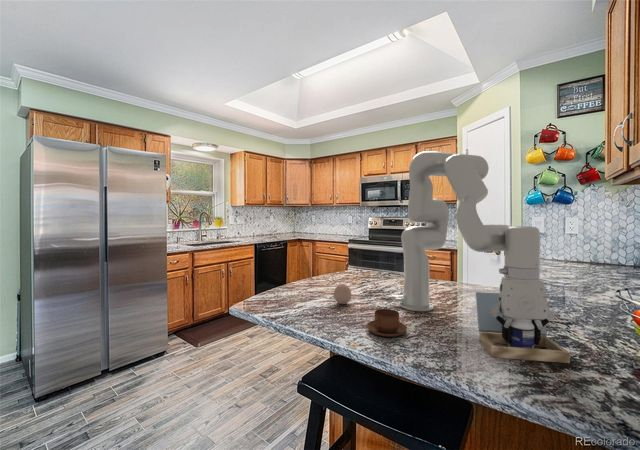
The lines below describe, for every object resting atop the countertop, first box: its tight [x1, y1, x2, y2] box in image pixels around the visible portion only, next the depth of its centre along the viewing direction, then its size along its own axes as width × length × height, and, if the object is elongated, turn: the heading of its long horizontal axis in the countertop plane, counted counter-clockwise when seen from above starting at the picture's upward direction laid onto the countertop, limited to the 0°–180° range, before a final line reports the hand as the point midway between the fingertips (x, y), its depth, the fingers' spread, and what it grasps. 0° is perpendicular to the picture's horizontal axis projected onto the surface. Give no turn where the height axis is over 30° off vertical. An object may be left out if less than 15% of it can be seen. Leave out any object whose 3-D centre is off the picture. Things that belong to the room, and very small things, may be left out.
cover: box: [475, 291, 548, 337], centre depth 84 cm, size 17×11×1 cm
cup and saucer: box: [366, 308, 408, 338], centre depth 91 cm, size 12×12×6 cm
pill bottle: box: [507, 319, 535, 349], centre depth 78 cm, size 6×6×10 cm
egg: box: [333, 283, 352, 305], centre depth 121 cm, size 7×7×8 cm
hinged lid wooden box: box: [478, 331, 571, 364], centre depth 78 cm, size 17×10×2 cm, turn 79°
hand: (520, 341), depth 78 cm, fingers closed on pill bottle, 5 cm apart
